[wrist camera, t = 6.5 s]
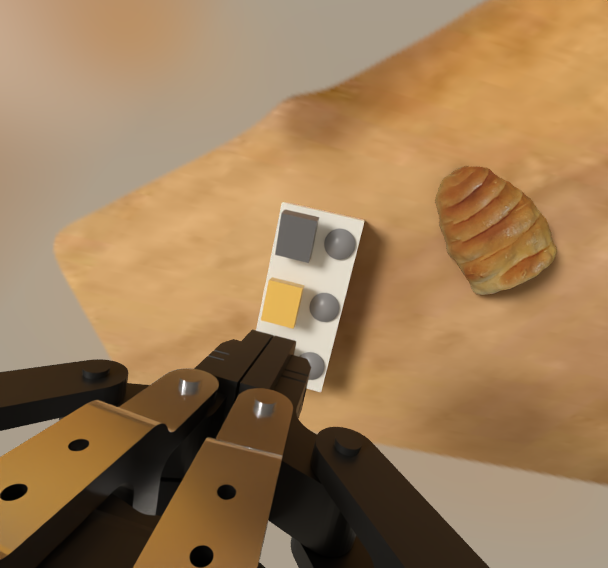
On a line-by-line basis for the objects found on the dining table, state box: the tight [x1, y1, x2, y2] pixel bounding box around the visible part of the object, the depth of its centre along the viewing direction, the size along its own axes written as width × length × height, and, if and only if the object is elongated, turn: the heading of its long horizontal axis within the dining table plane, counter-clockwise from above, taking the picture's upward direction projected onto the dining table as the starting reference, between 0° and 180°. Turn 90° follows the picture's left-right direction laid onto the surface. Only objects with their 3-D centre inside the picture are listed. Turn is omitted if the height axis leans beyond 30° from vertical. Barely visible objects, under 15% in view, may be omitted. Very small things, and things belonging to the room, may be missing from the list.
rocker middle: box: [261, 277, 305, 329], centre depth 27 cm, size 2×3×2 cm
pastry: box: [435, 166, 557, 295], centre depth 27 cm, size 9×7×4 cm
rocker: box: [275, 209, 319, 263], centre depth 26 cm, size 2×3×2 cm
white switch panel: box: [256, 202, 365, 392], centre depth 30 cm, size 6×14×4 cm, turn 167°
